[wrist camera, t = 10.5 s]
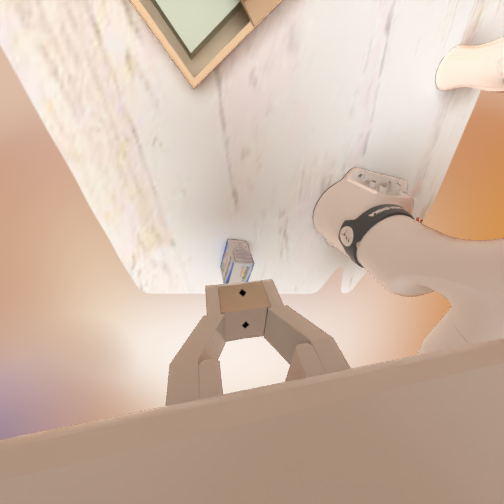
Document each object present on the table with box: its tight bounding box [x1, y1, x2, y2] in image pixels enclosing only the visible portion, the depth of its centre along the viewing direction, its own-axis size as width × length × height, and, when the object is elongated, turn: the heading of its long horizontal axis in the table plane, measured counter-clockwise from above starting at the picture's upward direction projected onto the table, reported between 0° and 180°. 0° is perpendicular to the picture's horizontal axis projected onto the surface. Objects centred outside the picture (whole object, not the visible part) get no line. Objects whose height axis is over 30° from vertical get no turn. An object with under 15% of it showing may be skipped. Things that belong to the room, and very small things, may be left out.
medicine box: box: [221, 239, 255, 284], centre depth 47 cm, size 8×4×9 cm, turn 164°
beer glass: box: [436, 37, 504, 93], centre depth 32 cm, size 7×7×15 cm
